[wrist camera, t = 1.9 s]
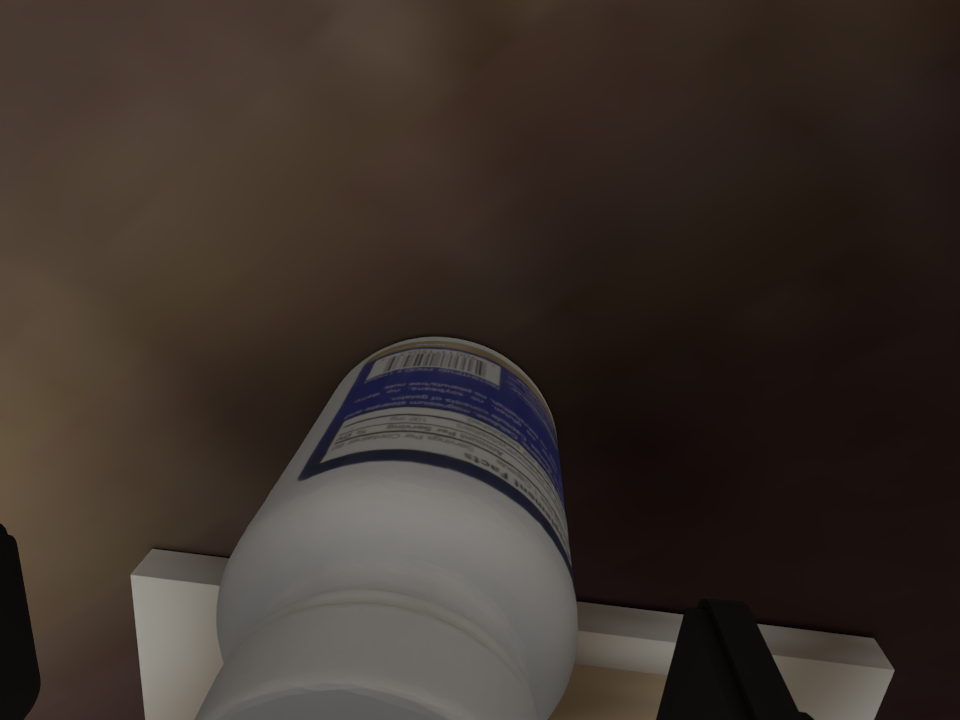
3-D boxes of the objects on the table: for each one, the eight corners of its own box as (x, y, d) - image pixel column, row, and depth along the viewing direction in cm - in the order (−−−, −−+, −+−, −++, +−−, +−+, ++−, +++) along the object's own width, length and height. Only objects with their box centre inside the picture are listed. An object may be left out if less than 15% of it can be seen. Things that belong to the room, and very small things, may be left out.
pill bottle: (458, 574, 17) (394, 1038, 8) (284, 449, 16) (19, 833, 7) (607, 430, 15) (711, 828, 7) (423, 280, 14) (281, 531, 6)
